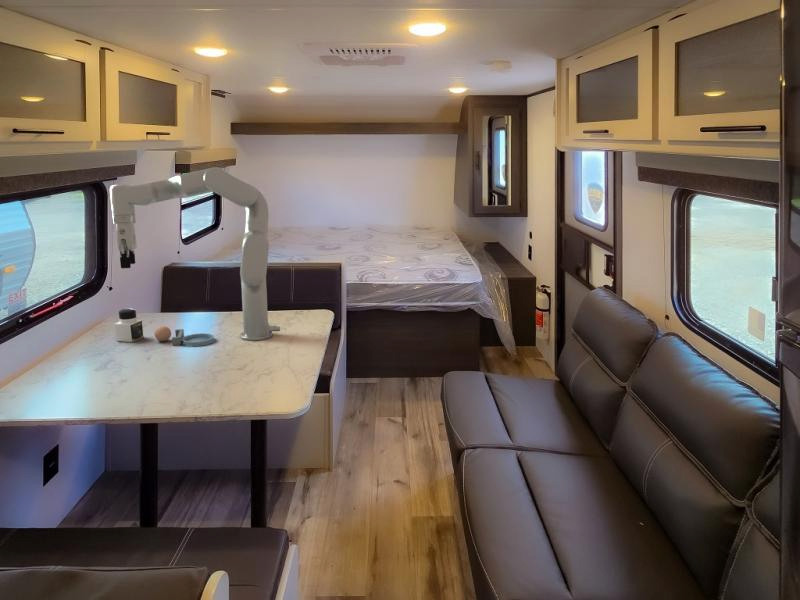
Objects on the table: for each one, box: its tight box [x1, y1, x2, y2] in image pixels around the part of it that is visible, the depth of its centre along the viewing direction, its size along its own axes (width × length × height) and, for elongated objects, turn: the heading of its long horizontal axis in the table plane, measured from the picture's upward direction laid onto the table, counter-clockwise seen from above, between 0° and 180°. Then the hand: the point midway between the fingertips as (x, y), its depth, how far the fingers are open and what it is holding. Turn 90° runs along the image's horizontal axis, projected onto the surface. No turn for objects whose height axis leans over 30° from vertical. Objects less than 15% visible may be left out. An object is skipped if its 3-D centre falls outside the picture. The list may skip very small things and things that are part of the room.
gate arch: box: [171, 328, 185, 346], centre depth 227 cm, size 3×12×3 cm, turn 14°
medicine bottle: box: [114, 307, 144, 343], centre depth 228 cm, size 7×7×12 cm
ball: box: [154, 325, 172, 342], centre depth 226 cm, size 6×6×6 cm
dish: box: [181, 332, 215, 347], centre depth 226 cm, size 12×12×2 cm
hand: (128, 265), depth 216 cm, fingers open, 9 cm apart
